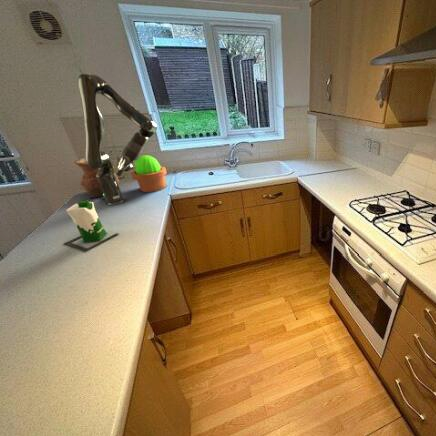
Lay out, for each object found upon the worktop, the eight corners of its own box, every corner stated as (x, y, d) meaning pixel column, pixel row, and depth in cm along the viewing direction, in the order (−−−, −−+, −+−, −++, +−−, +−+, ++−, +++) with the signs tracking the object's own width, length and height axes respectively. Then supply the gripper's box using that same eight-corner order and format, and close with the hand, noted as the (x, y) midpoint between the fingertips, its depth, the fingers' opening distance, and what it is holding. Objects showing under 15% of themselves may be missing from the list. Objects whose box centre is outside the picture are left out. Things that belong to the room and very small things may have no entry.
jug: (87, 200, 162) (70, 164, 150) (85, 192, 176) (69, 158, 164) (125, 192, 175) (111, 158, 163) (119, 184, 189) (107, 153, 177)
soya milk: (101, 241, 118) (82, 205, 108) (80, 243, 116) (60, 207, 107) (109, 232, 125) (93, 197, 116) (90, 234, 124) (72, 199, 114)
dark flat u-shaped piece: (64, 244, 117) (64, 243, 116) (97, 228, 129) (97, 228, 129) (85, 251, 111) (85, 251, 110) (118, 234, 123) (117, 234, 123)
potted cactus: (174, 182, 191) (165, 150, 179) (162, 192, 172) (151, 158, 160) (146, 183, 191) (136, 151, 178) (131, 194, 171) (118, 159, 159)
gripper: (120, 141, 135) (104, 167, 136) (133, 152, 131) (117, 178, 132) (132, 147, 142) (117, 171, 143) (145, 157, 138) (129, 182, 139)
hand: (117, 175), depth 138 cm, fingers closed
